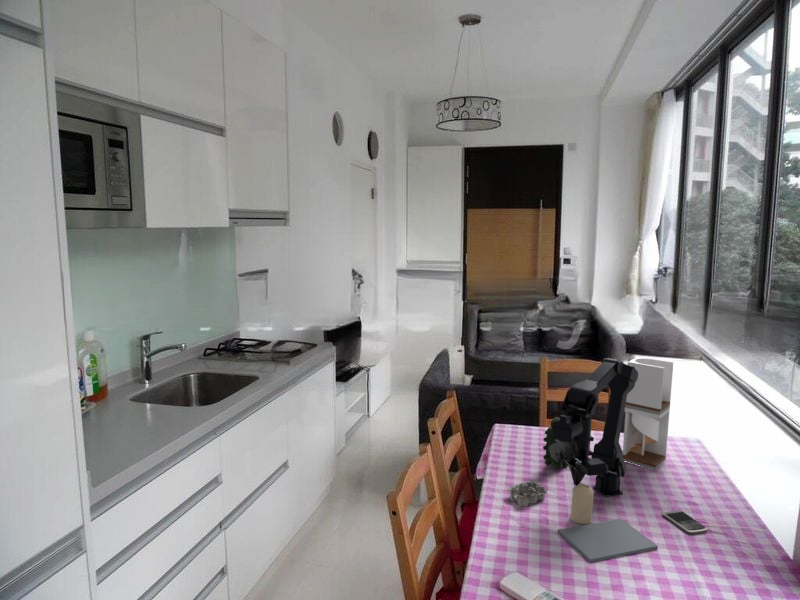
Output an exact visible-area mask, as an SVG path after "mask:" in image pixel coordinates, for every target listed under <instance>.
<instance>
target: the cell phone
mask: <svg viewBox="0 0 800 600" xmlns="http://www.w3.org/2000/svg"><path fill="white" fill-rule="evenodd" d="M661 514H662V517H664V518H665V519H667V521H670V523H671V524H673V525H675V526H676V527H677V528H679V529H680V530H682V531H684V533H686V534H688V535H696V534H703V533H706V532H707V531H708V528H707V527H706V526H705V525H703V524H701V522H699V521H697V520H696V519H694V518H693V517H691V516H690V515H689V514H687V513H686V512H684V511H682V509H678V510H673V511H672V510H671V511H666V512H665V511H664V512H661Z"/></svg>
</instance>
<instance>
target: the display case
mask: <svg viewBox="0 0 800 600" xmlns="http://www.w3.org/2000/svg"><path fill="white" fill-rule="evenodd" d="M626 365H630V366H634V367H635V369H636V370H637V371H638V379H637V381H636V382H635V386H634V388H633V389H632V390H631V391H630V392H629V393H628V394H627V398H626V404H625V409H624V413H625V414H624V428H623V441H622V442H623V444H622V445H623V446H622V452H623V455H622V459H623V461H627V462H630V463H634V464H637V465H640V466H643V467H646V468H645V469H647V468H650V469H649V470H651V469H653V470H652V471H654V470H656V469H657V468H658V467H659V466H660V465H661V464H662V463H663V462H664V461H665V460H667V451H668V450H667V449H668V434H669V425H670V424H669V422H670V411H671V408H670V407H671V400H672V399H671V396H672V383H673V372H674V361H671V360H662V359H656V358H651V357H643V356H636V357H635V358H633V359H631V360H629V361H627V364H626ZM665 462H666V461H665ZM665 462H664V463H665ZM664 463H663V464H664ZM663 464H662V465H663ZM662 465H661V466H662ZM640 466H639V467H640ZM661 466H660V467H661ZM643 467H642V468H643ZM660 467H659V468H660ZM659 468H658V469H659ZM658 469H657V470H658ZM657 470H656V471H657Z"/></svg>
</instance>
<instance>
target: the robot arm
mask: <svg viewBox="0 0 800 600" xmlns="http://www.w3.org/2000/svg"><path fill="white" fill-rule="evenodd" d="M637 379H638V371H637V370H636V369H635V367H634V366H630V365H627V364H626V363H624V362H623V361H621V360H619V359H614V358H609V357H606V358H603V359H602V361H601V363H600V365H599V366H598V367H596V369H595V370H594V371H593V372H592V373H591V374H590V375H589V376H588V377H587V378H586V379H585V380H583V381H579V382H576V383H574V384H573V385H571V386H570V387H569V389H568V390H567V392H566V394H565V397H564V399H563V402H562V403H561V407H560V411H559V412H561V413H564V414H561V415H559V418H560V420H558V421H556V422H555V423H554V424H553V426H552V432H553V434H554V436H555V437H556V439H557V440H554V441H553V442H552V443H551V445H550V446H549V447H548V448H549V451H550V455H551V458H553V459H555V460H556V461H557V462H559V463H561V462H564V461H565V462H566V463H567V464H568V467H569V471H570V475H571V477H572V478H571V479H572V482H573V485H574V487H575V486H577V485H578V484H580V483H582V480H583V479H584V478H585V476H586V475H587V476H590V477H592V476H593V477H594V476H595V484H594V485H592V488H593V489H594V490H596V491H597V492H598V493H600V494H601V495H603V496H604V497H612V496H617V495H623V494H624V491H622V490H621V479H622V478H625V477H626V473H627V468H628V466H627V465H626V464H627V463H626V462H624V461H623V459H622V455H623V448H622V446H621V445H620V437H621V432H622V425H623V421H624V416H625V414H624V413H625V411H624V409H625V404H626V398H627V394H628V393H629V392H630V391H631V390H632V389H633V388H634V386H635V382H636V381H637ZM606 386H607V387H608V388H609V397H608V398H609V399H608V405H607V409H606V414H605V421H604V426H603V431H602V432H603V433H602V437H601V439H600V440H599V441H598V442H597V443H595V444H594V446H593V451H592V450H591V448H590V447H591V442H594V439H595V437H594V436H592V434H591V433H592V421H593V420H592V419H593V415H594V414H595V412H596V411H595V410H596V407H597V405H598V403H599V401H600V399H599V398H600V397H599V394H600V393H601V392H603V390H604V389H605V388H606Z"/></svg>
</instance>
